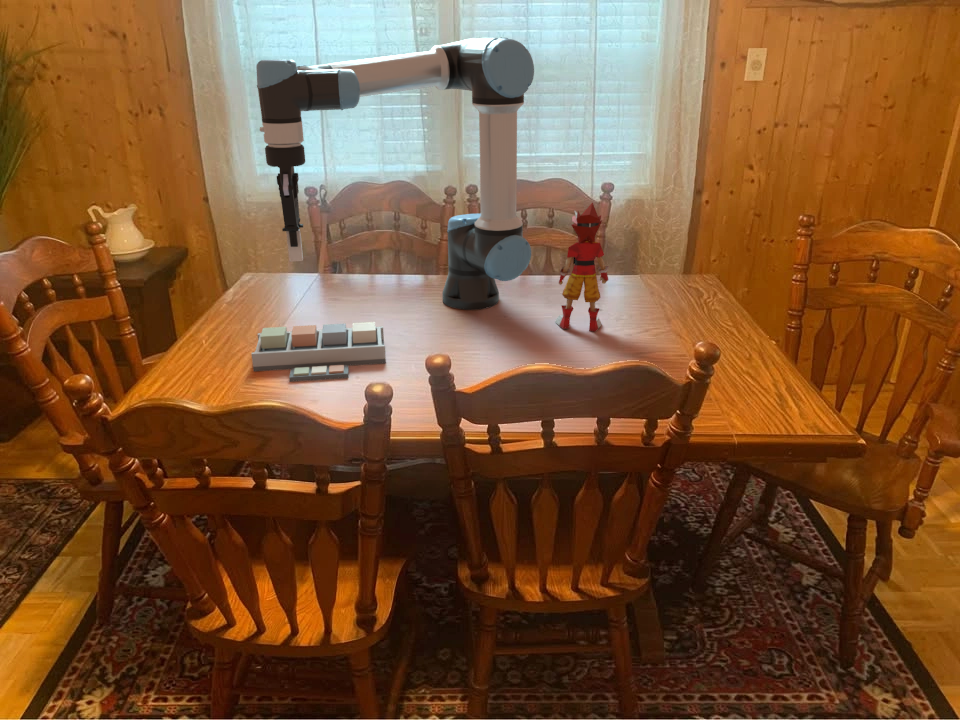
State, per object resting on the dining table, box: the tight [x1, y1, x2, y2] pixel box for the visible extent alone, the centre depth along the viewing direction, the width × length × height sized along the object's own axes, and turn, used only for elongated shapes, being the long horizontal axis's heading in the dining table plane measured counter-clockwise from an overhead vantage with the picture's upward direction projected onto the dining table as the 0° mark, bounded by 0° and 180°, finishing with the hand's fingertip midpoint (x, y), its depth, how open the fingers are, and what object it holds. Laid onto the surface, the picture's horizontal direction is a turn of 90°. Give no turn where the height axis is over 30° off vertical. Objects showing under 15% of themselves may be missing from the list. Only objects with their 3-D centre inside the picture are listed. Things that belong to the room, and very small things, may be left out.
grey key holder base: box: [250, 325, 387, 372], centre depth 163 cm, size 28×12×4 cm, turn 99°
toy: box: [554, 202, 610, 333], centre depth 174 cm, size 12×9×30 cm
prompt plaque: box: [288, 365, 350, 383], centre depth 155 cm, size 12×4×1 cm, turn 99°
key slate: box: [321, 322, 347, 345], centre depth 162 cm, size 5×5×3 cm
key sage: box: [260, 326, 288, 349], centre depth 160 cm, size 5×5×3 cm
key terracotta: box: [291, 324, 318, 347], centre depth 161 cm, size 5×5×3 cm
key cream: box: [351, 321, 376, 343], centre depth 163 cm, size 5×5×3 cm
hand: (296, 260), depth 154 cm, fingers closed
